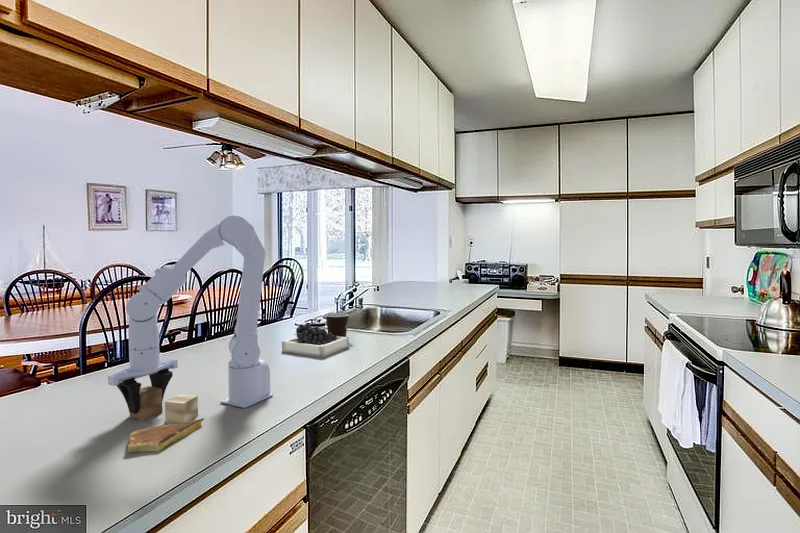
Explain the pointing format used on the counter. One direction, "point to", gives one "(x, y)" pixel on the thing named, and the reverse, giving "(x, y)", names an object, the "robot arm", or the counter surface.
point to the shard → (160, 435)
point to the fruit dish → (315, 347)
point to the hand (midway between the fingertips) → (146, 408)
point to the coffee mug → (337, 324)
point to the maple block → (181, 408)
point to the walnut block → (149, 403)
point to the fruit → (313, 335)
